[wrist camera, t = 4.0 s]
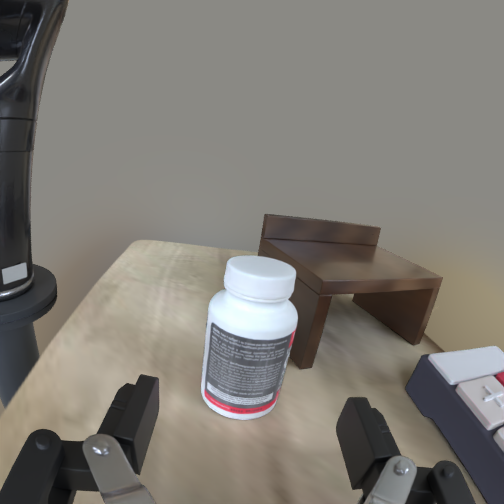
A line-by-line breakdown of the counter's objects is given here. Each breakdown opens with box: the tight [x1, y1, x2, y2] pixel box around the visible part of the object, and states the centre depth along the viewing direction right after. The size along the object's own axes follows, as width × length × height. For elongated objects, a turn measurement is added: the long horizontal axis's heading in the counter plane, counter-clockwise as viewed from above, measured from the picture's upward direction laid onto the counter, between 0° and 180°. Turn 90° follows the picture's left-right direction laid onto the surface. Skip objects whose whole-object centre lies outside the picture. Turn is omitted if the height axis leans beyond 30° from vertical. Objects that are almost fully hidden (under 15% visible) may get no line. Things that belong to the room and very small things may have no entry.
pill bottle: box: [201, 255, 298, 420], centre depth 19 cm, size 5×5×10 cm
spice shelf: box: [258, 214, 443, 369], centre depth 32 cm, size 16×12×10 cm
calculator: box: [405, 346, 504, 504], centre depth 16 cm, size 11×4×15 cm
